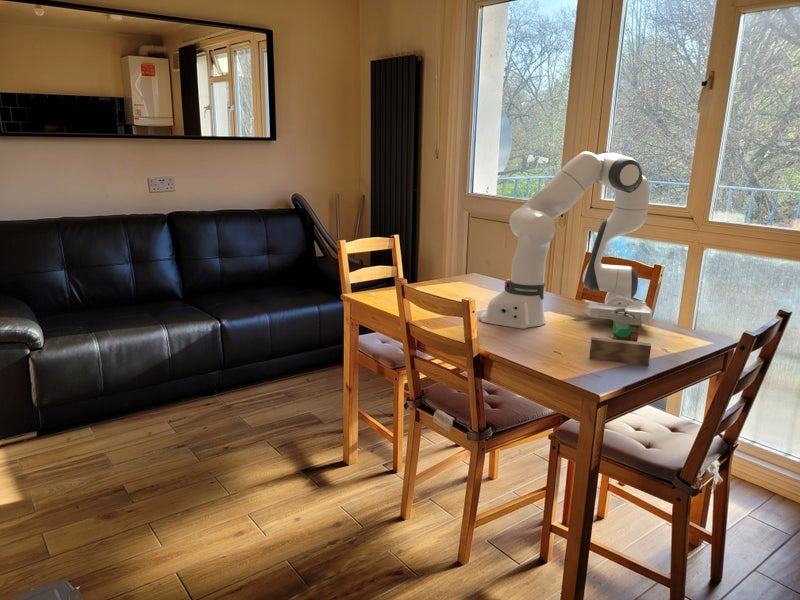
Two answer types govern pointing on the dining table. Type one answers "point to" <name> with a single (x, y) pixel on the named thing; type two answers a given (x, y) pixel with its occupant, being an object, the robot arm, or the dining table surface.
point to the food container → (625, 325)
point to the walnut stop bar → (620, 351)
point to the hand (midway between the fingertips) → (620, 318)
